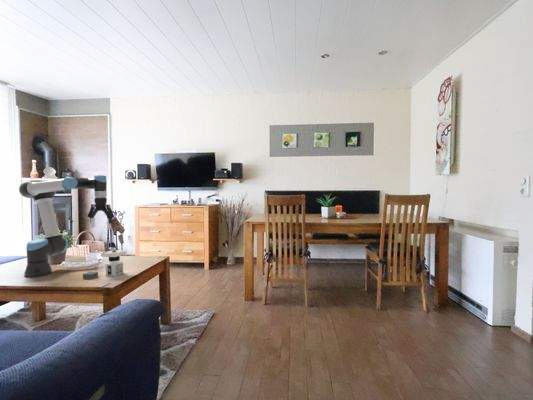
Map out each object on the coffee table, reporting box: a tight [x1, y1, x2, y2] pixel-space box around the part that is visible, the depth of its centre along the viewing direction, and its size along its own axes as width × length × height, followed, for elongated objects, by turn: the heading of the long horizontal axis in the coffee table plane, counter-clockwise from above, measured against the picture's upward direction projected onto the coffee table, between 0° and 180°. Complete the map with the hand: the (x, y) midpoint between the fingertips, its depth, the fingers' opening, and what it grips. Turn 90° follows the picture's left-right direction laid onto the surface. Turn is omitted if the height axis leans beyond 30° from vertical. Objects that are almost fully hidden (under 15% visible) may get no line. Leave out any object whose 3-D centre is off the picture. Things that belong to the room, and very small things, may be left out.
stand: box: [82, 271, 99, 280], centre depth 197 cm, size 6×6×3 cm
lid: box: [100, 248, 128, 258], centre depth 204 cm, size 11×11×4 cm
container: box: [105, 256, 124, 277], centre depth 205 cm, size 8×8×13 cm
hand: (100, 227), depth 213 cm, fingers open, 13 cm apart
